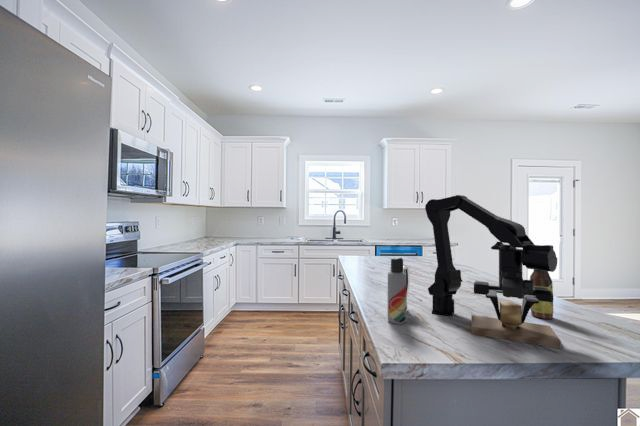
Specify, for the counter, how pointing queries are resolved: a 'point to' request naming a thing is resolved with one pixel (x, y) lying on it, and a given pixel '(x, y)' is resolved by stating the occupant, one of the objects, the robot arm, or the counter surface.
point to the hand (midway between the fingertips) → (510, 321)
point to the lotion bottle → (397, 292)
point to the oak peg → (510, 314)
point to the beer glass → (406, 270)
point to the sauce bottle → (542, 307)
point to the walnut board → (515, 331)
